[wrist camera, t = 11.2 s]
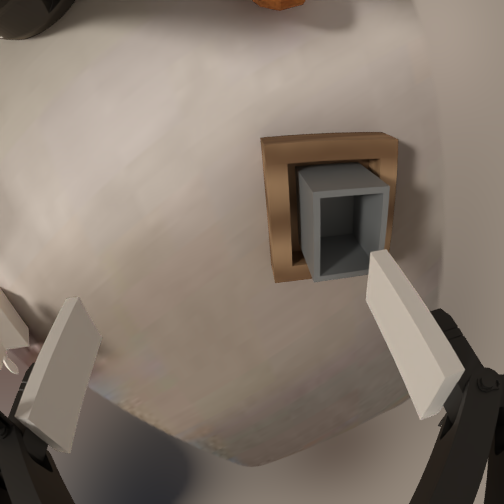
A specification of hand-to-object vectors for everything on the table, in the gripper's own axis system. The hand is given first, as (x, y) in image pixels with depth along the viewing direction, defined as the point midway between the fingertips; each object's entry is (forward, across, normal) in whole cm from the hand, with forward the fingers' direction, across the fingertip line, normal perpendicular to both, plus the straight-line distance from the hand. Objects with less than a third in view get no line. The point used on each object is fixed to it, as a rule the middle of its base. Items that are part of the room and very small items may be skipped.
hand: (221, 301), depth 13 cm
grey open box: (+21, +10, -6) cm, 24 cm away
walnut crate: (+22, +10, -6) cm, 25 cm away
